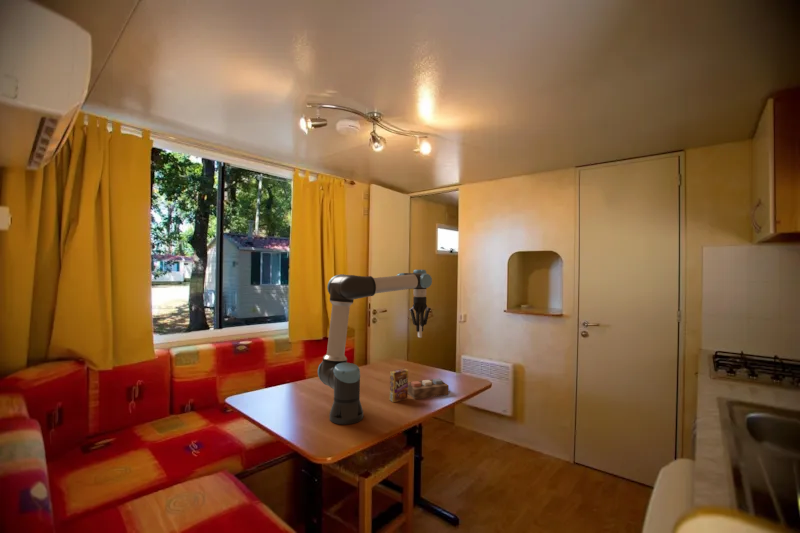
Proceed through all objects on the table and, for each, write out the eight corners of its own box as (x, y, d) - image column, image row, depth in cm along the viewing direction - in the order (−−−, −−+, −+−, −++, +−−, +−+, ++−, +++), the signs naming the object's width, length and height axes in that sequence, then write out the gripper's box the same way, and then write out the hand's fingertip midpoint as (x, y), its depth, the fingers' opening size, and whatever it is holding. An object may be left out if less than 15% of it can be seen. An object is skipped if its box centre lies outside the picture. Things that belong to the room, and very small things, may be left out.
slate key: (435, 388, 192) (436, 381, 192) (432, 386, 196) (432, 379, 196) (442, 387, 193) (442, 380, 193) (439, 385, 197) (439, 378, 197)
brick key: (414, 391, 187) (414, 384, 187) (411, 389, 191) (411, 381, 191) (420, 390, 189) (421, 383, 189) (417, 388, 192) (417, 380, 192)
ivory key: (425, 390, 190) (425, 382, 190) (422, 387, 193) (422, 380, 193) (431, 389, 191) (431, 381, 191) (428, 386, 195) (428, 379, 195)
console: (414, 399, 183) (414, 389, 183) (405, 391, 194) (405, 382, 194) (448, 394, 190) (448, 385, 190) (438, 387, 201) (438, 378, 201)
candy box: (393, 403, 178) (394, 372, 178) (389, 400, 181) (389, 370, 181) (408, 399, 182) (408, 370, 183) (403, 397, 186) (403, 368, 186)
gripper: (411, 297, 197) (411, 339, 197) (433, 296, 202) (432, 337, 202) (407, 296, 204) (406, 336, 204) (427, 295, 209) (427, 335, 209)
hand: (419, 337), depth 203 cm, fingers closed
